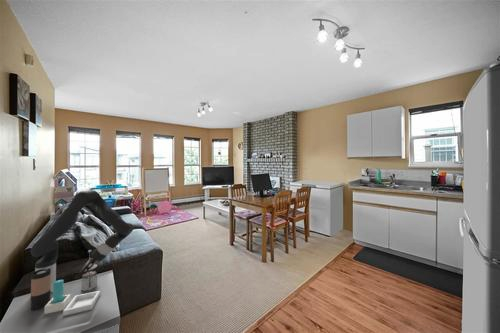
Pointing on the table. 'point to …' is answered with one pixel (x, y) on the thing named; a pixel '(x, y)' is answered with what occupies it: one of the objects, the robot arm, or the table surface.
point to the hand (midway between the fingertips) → (78, 275)
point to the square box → (57, 305)
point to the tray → (81, 303)
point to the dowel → (58, 291)
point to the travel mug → (40, 288)
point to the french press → (89, 278)
